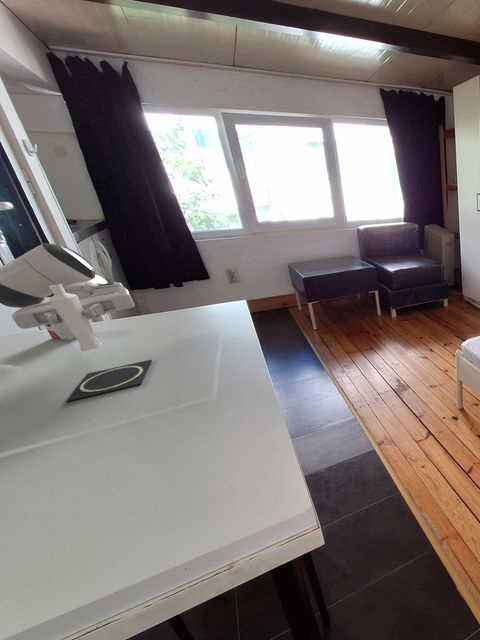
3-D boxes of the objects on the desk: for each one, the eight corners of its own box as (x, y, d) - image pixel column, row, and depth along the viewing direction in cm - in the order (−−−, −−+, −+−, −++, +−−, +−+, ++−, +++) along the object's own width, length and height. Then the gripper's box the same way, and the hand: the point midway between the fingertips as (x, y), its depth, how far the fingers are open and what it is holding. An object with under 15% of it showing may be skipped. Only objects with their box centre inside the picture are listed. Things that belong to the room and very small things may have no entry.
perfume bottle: (86, 353, 83) (48, 289, 76) (74, 350, 84) (35, 288, 77) (109, 344, 87) (74, 283, 80) (97, 342, 88) (62, 282, 81)
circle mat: (67, 402, 80) (65, 400, 80) (87, 374, 91) (86, 373, 90) (140, 384, 85) (139, 382, 85) (152, 360, 96) (151, 358, 96)
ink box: (51, 338, 113) (28, 302, 108) (69, 331, 117) (48, 297, 112) (71, 340, 111) (49, 303, 106) (89, 333, 115) (68, 298, 110)
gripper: (15, 299, 84) (-6, 316, 74) (128, 280, 95) (123, 293, 85) (31, 324, 87) (13, 343, 77) (139, 303, 98) (135, 318, 88)
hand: (72, 317), depth 81 cm, fingers closed on perfume bottle, 4 cm apart
